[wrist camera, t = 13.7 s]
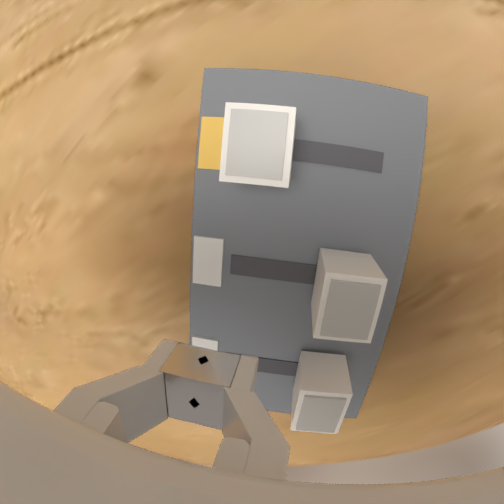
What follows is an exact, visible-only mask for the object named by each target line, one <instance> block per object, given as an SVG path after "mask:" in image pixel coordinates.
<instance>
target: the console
mask: <svg viewBox="0 0 504 504" xmlns="http://www.w3.org/2000/svg"><path fill="white" fill-rule="evenodd" d="M226 102H233V103H252V104H266V105H278V106H289V107H296V129H295V139H294V150H293V160H292V170H291V179H290V184H289V188H282V187H273V186H264V185H254V184H244V183H234V182H222V181H219V174H220V161H221V149H222V137H223V126H224V115H225V104H226ZM427 110H428V97H427V96H423V95H419V94H416V93H412V92H408V91H404V90H399V89H395V88H391V87H386V86H382V85H377V84H372V83H367V82H361V81H356V80H350V79H344V78H338V77H331V76H324V75H316V74H308V73H298V72H288V71H276V70H260V69H235V68H205V69H204V78H203V87H202V96H201V106H200V117H199V128H198V140H197V153H196V167H195V182H194V199H193V219H192V244H191V280H190V345H194V346H198V347H202V348H207V349H210V350H215V351H221V352H226V353H232V354H238V355H248V356H255V357H258V358H259V361H258V369H257V376H256V383H255V390H254V392H255V393H256V395H257V396H258V398H259V399H260V401H261V403H262V404H263V406H264V407H265V409H266V410H267V411H273V412H281V413H290V414H291V410H292V394H293V386H294V382H295V377H296V372H297V368H298V363H299V358H300V353H301V351H309V352H319V353H329V354H339V355H346V360H347V365H348V371H349V376H350V382H351V388H352V393H353V395H352V398H351V400H350V403H349V406H348V408H347V411H346V414H345V416H344V418H356V417H357V415H358V412H359V410H360V407H361V405H362V402H363V400H364V397H365V395H366V392H367V390H368V387H369V384H370V382H371V379H372V376H373V373H374V371H375V368H376V365H377V362H378V359H379V356H380V353H381V350H382V347H383V344H384V341H385V338H386V335H387V331H388V328H389V325H390V321H391V318H392V314H393V311H394V307H395V304H396V300H397V296H398V293H399V289H400V285H401V281H402V277H403V273H404V268H405V264H406V260H407V255H408V251H409V246H410V241H411V236H412V231H413V226H414V220H415V215H416V209H417V203H418V196H419V190H420V183H421V175H422V167H423V158H424V149H425V138H426V126H427ZM320 248H327V249H335V250H343V251H350V252H358V253H366V254H371V256H372V257H373V259H374V260H375V261H376V263H377V264H378V266H379V267H380V269H381V270H382V272H383V273H384V275H385V276H386V278H387V279H388V281H387V285H386V289H385V293H384V297H383V301H382V305H381V309H380V312H379V316H378V320H377V323H376V327H375V330H374V334H373V337H372V340H371V343H359V342H347V341H336V340H326V339H317V338H313V329H312V312H311V300H312V294H313V288H314V282H315V276H316V270H317V264H318V258H319V251H320Z"/></svg>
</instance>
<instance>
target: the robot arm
mask: <svg viewBox="0 0 504 504" xmlns="http://www.w3.org/2000/svg"><path fill="white" fill-rule="evenodd" d="M258 361H259V358H258V357H255V356H248V355H238V354H232V353H226V352H221V351H215V350H210V349H207V348H202V347H198V346H194V345H189V344H185V343H181V342H180V343H179V342H176V341H172V340H168V339H164V340H162V341H161V342H160V344H159V345H158V346H157V347H156V349H155V350H154V351H153V353H152V354H151V356H150V357H149V358H148V360H147V361H146V362H145V364H144V365H143V366H142V367H140V366H136V367H133V368H130V369H128V370H125V371H122V372H119V373H116V374H114V375H111V376H108V377H105V378H102V379H99V380H96V381H93V382H90V383H87V384H84V385H81V386H78V387H75V388H73V389H72V391H71V392H70V393H69V394H68V395H67V396H66V397H65V398H64V399H63V400H62V402H61V403H60V404H59V405H58V406H57V407H56V408H55V409H54V410H51V409H49V408H47V407H45V406H43V405H41V404H39V403H37V402H36V401H34V400H32V399H30V398H28V397H27V396H25V395H23V394H21V393H20V392H18V391H16V390H15V389H13V388H11V387H10V386H8V385H6V384H5V383H3V382H2V381H0V504H504V467H502V468H498V469H494V470H489V471H485V472H480V473H475V474H470V475H464V476H458V477H453V478H445V479H439V480H430V481H421V482H410V483H396V484H367V485H366V484H355V485H354V484H325V483H310V482H298V481H288V480H286V476H287V469H288V460H289V451H290V445H289V443H288V442H287V441H286V439H285V438H284V436H283V435H282V433H281V432H280V430H279V429H278V427H277V426H276V424H275V423H274V421H273V420H272V418H271V416H270V415H269V413H268V412H267V410H266V409H265V407H264V406H263V404H262V403H261V401H260V399H259V398H258V396H257V395H256V393H255V392H254V390H255V383H256V376H257V369H258ZM168 417H170V418H174V419H178V420H182V421H187V422H191V423H196V424H199V425H203V426H207V427H211V428H215V429H220V430H222V433H223V435H224V439H222V441H221V444H220V447H219V450H218V453H217V455H216V458H215V461H214V464H213V467H212V468H211V467H207V466H202V465H198V464H194V463H190V462H186V461H183V460H179V459H175V458H172V457H169V456H165V455H162V454H159V453H155V452H152V451H149V450H146V449H143V448H140V447H137V446H134V445H132V444H129V443H128V442H130V441H132V440H134V439H135V438H137V437H139V436H140V435H142V434H144V433H145V432H147V431H148V430H150V429H152V428H153V427H155V426H157V425H158V424H160V423H161V422H163V421H165V420H166V419H168Z"/></svg>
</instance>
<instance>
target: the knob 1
mask: <svg viewBox="0 0 504 504" xmlns="http://www.w3.org/2000/svg"><path fill="white" fill-rule="evenodd" d="M295 129H296V107H289V106H278V105H266V104H252V103H233V102H226V104H225V115H224V126H223V137H222V149H221V161H220V174H219V181H222V182H234V183H244V184H254V185H264V186H273V187H282V188H289V184H290V179H291V170H292V160H293V150H294V139H295Z"/></svg>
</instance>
